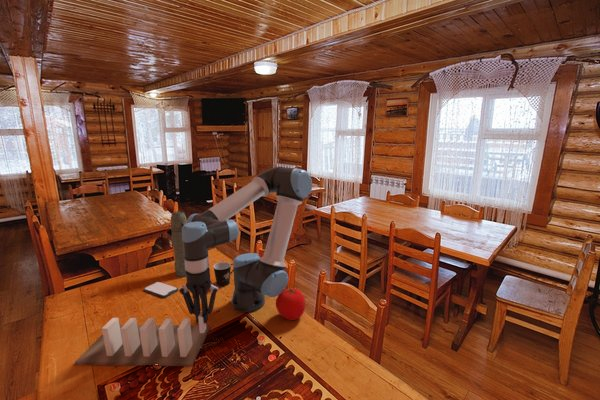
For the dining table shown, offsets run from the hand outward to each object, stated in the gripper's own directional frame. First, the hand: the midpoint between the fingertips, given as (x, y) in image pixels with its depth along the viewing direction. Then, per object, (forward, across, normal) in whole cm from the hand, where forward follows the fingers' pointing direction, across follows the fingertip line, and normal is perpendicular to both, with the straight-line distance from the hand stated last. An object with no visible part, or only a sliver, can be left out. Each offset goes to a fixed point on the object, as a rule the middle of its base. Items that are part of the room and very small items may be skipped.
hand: (203, 330), depth 105 cm
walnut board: (+9, +23, -4) cm, 25 cm away
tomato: (+10, -30, -22) cm, 38 cm away
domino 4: (+8, +13, 0) cm, 16 cm away
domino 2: (+8, +26, 0) cm, 27 cm away
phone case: (+10, +36, -42) cm, 57 cm away
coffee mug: (+10, +5, -50) cm, 51 cm away
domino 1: (+9, +33, 0) cm, 34 cm away
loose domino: (+8, +7, 0) cm, 11 cm away
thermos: (+10, +31, -60) cm, 69 cm away
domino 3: (+8, +20, 0) cm, 21 cm away
